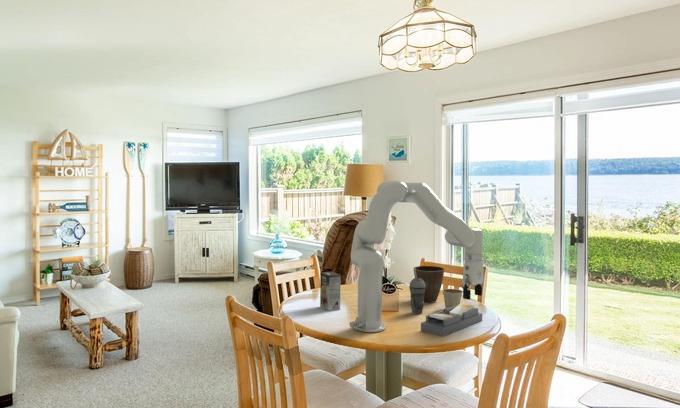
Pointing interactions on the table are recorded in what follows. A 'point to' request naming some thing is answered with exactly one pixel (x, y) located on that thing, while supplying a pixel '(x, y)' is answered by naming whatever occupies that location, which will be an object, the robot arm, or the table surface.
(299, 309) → the table surface
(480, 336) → the table surface
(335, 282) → the coffee box
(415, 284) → the beverage cup
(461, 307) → the outer rocker
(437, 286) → the plant pot
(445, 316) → the inner rocker
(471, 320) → the switch panel
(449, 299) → the flower pot
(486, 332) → the table surface
